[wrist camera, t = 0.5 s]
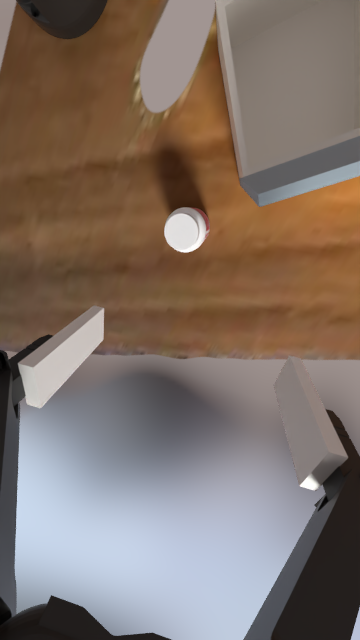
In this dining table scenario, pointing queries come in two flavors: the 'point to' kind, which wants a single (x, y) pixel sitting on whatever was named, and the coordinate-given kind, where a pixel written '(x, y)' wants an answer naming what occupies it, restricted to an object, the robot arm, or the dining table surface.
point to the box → (289, 77)
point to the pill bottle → (186, 229)
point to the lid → (304, 173)
